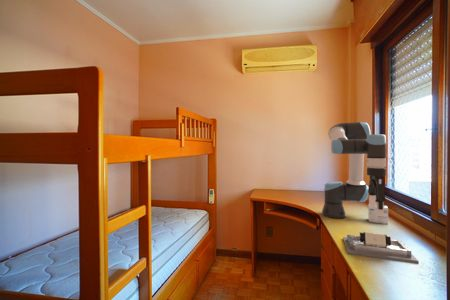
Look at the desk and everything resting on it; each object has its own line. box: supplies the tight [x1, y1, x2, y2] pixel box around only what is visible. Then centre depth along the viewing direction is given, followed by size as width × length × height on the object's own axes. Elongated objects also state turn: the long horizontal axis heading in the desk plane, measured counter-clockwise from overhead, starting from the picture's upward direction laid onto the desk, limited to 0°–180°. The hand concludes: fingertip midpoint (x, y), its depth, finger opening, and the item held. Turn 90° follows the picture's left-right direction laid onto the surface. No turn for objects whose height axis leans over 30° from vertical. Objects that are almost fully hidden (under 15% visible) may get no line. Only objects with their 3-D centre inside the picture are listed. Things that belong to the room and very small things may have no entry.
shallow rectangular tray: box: [346, 234, 412, 257], centre depth 111 cm, size 12×23×2 cm, turn 70°
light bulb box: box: [368, 205, 389, 225], centre depth 153 cm, size 11×7×11 cm, turn 59°
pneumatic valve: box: [359, 231, 392, 247], centre depth 109 cm, size 6×12×12 cm
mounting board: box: [342, 236, 420, 264], centre depth 111 cm, size 19×26×1 cm
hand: (376, 212), depth 111 cm, fingers open, 13 cm apart
